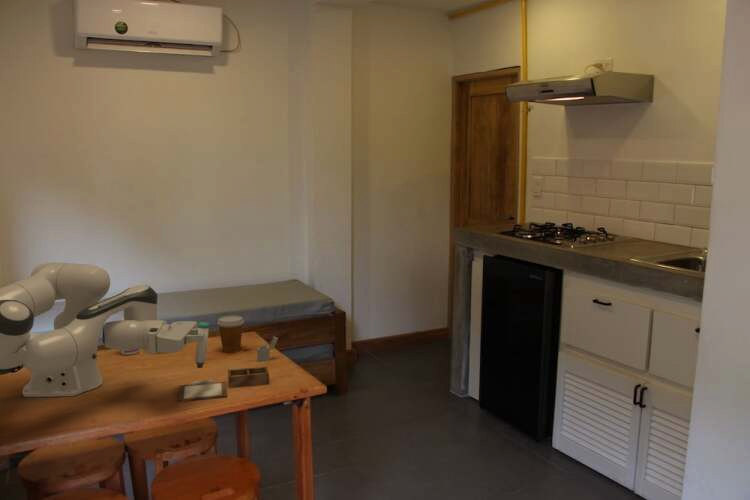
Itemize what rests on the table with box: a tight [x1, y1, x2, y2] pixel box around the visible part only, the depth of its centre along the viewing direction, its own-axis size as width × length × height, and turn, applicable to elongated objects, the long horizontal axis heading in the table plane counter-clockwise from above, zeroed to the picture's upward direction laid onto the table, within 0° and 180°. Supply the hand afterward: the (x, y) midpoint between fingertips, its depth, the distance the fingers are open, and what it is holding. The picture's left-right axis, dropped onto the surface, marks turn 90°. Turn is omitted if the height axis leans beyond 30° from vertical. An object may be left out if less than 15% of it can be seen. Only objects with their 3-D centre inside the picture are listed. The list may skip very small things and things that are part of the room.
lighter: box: [256, 336, 279, 362], centre depth 224 cm, size 7×2×8 cm, turn 113°
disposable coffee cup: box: [217, 315, 245, 354], centre depth 234 cm, size 10×10×12 cm
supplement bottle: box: [119, 317, 140, 356], centre depth 231 cm, size 7×7×13 cm
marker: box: [194, 321, 210, 369], centre depth 189 cm, size 3×3×14 cm
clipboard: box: [177, 379, 228, 403], centre depth 195 cm, size 14×12×2 cm
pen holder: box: [227, 366, 270, 389], centre depth 203 cm, size 12×7×4 cm, turn 105°
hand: (205, 335), depth 188 cm, fingers closed on marker, 3 cm apart
